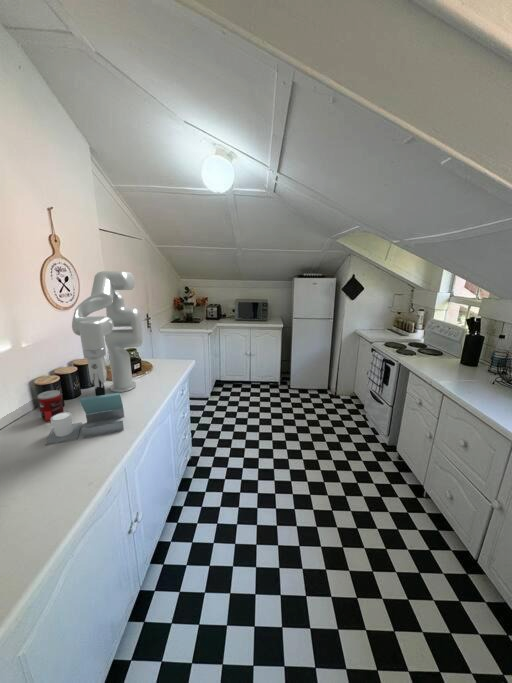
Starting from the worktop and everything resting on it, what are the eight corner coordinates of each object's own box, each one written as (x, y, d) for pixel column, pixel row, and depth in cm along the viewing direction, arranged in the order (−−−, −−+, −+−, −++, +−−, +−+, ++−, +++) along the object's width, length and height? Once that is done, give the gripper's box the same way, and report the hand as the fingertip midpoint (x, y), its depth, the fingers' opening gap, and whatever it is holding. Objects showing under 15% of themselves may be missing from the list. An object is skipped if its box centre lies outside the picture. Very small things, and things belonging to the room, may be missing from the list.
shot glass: (64, 438, 107) (61, 421, 105) (48, 436, 108) (45, 419, 106) (78, 428, 114) (75, 412, 112) (63, 426, 115) (60, 410, 113)
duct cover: (86, 414, 117) (86, 412, 118) (123, 408, 123) (123, 405, 123) (79, 400, 108) (79, 398, 109) (120, 394, 114) (119, 392, 114)
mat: (53, 428, 114) (53, 427, 114) (82, 423, 118) (81, 422, 118) (45, 445, 104) (45, 444, 104) (77, 439, 108) (77, 437, 107)
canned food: (45, 414, 125) (40, 391, 122) (66, 411, 127) (62, 388, 124) (39, 423, 118) (34, 399, 115) (62, 420, 120) (57, 396, 118)
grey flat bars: (87, 422, 119) (86, 414, 118) (124, 415, 124) (123, 407, 123) (83, 437, 108) (81, 429, 107) (123, 430, 114) (122, 421, 113)
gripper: (103, 357, 103) (110, 402, 108) (107, 346, 117) (112, 387, 122) (80, 359, 101) (87, 406, 105) (86, 348, 114) (92, 390, 119)
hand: (100, 396), depth 113 cm, fingers closed
